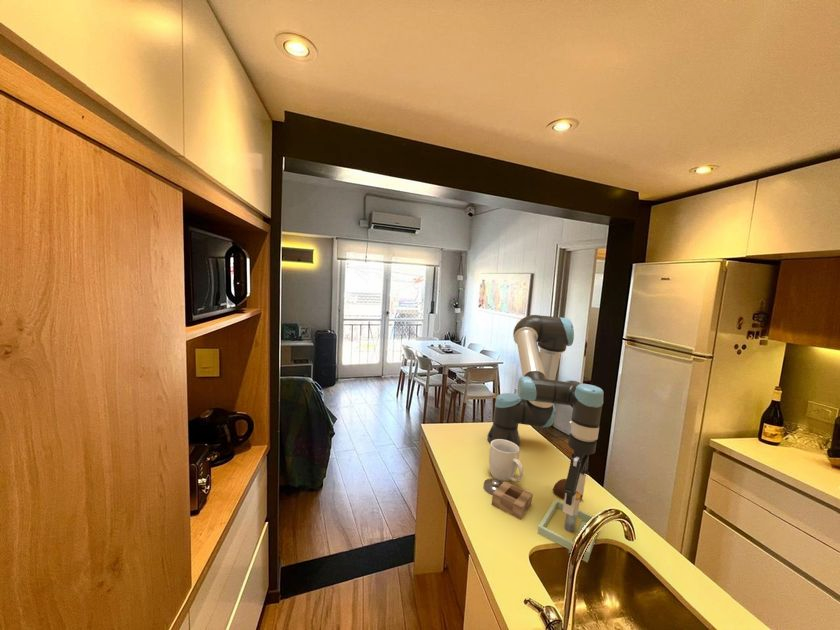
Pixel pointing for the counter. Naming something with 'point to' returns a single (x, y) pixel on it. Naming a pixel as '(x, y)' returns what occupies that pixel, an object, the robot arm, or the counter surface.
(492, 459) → the mug
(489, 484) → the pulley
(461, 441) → the counter surface
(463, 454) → the counter surface
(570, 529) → the pin
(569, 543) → the light teal rectangular frame
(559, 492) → the potato
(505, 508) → the block
